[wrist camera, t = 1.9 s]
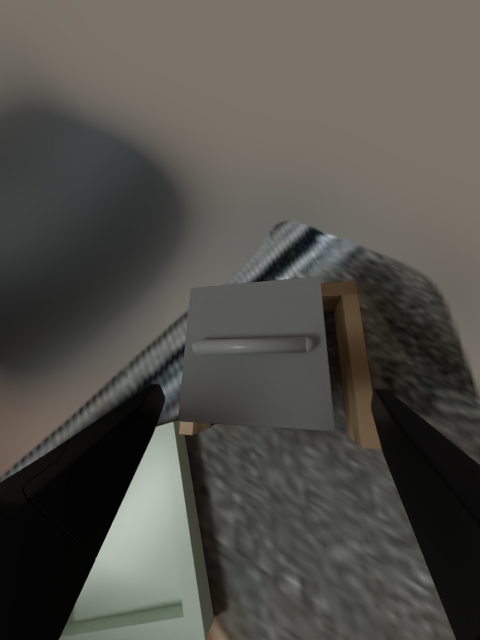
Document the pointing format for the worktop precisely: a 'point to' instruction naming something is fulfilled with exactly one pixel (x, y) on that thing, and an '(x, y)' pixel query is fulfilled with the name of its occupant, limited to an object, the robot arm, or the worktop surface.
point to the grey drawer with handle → (257, 356)
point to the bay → (342, 365)
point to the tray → (150, 557)
